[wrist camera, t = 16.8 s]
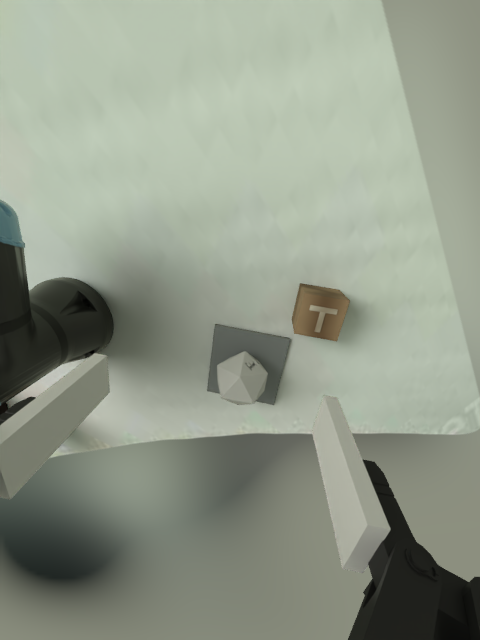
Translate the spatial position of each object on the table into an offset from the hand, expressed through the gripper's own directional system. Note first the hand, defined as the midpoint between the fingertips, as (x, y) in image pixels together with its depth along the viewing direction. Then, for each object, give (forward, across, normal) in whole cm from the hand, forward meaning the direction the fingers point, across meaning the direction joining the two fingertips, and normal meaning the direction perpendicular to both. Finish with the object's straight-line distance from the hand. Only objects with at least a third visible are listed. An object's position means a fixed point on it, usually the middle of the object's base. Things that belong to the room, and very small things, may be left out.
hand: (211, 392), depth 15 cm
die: (+26, +2, -14) cm, 30 cm away
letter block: (+26, +11, -1) cm, 29 cm away
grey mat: (+26, +2, -14) cm, 30 cm away
